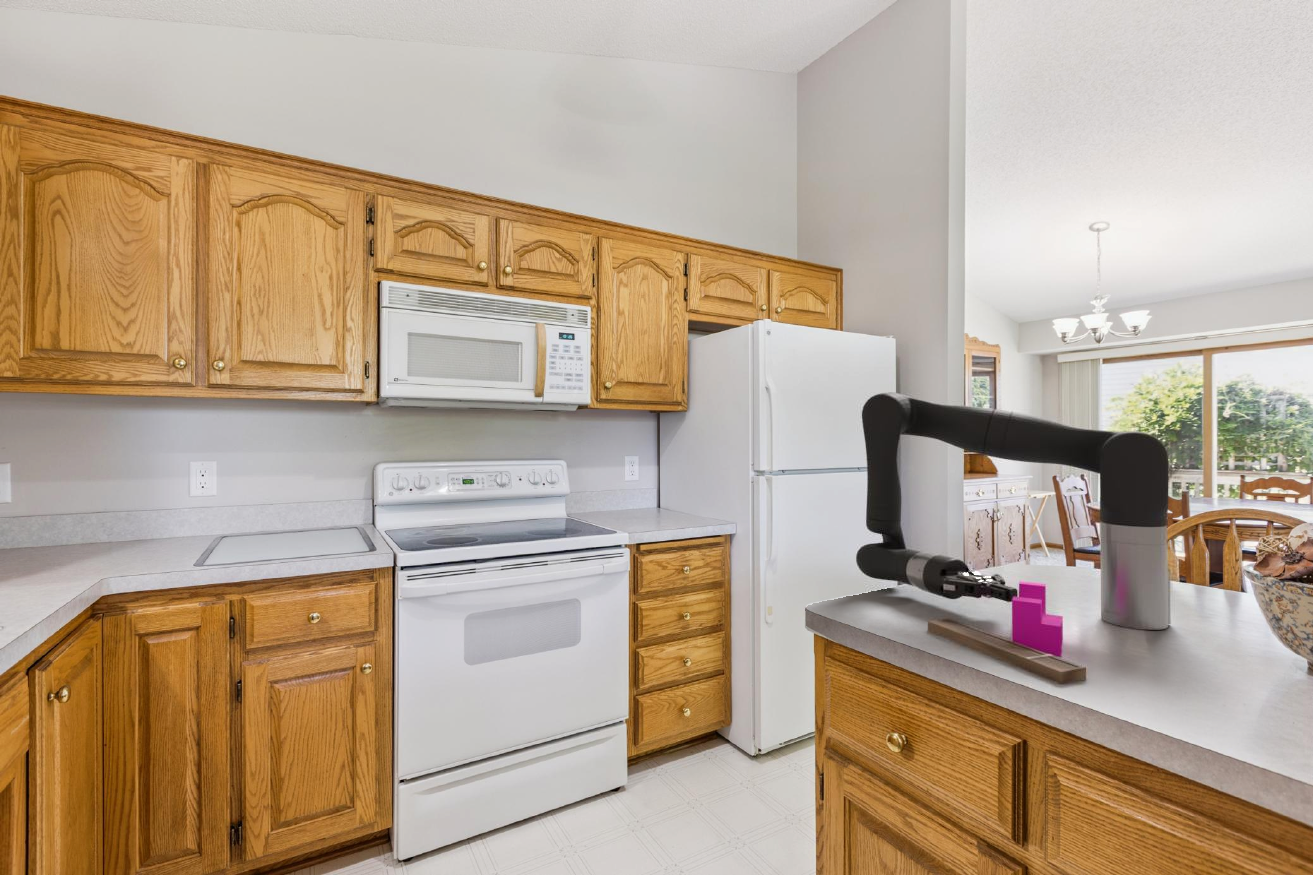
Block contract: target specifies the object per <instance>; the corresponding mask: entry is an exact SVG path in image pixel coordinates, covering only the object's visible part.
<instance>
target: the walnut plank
mask: <svg viewBox="0 0 1313 875" xmlns="http://www.w3.org/2000/svg"><path fill="white" fill-rule="evenodd" d="M927 631H928V632H930V633H933V634H935V635H938V636H940V637H941V638H942V637H943V638H944V639H947V640H950V641H953V642H955V643H957V644H960V645H963V646H965V647H968V648H970V649H973V650H975V651H977V652H979V653H982V654H985V655H987V656H990V657H991V658H995V659H998V660H1000V661H1002V662H1005V663H1008V664H1010V665H1013V666H1014V667H1018V668H1020V669H1022V670H1025V671H1027V672H1030V673H1032V674H1035V675H1038V676H1040V677H1042V678H1045V679H1047V680H1050V681H1052V682H1055V683H1057V684H1060V685H1063V684H1069V683H1075V682H1081V681H1087V667H1085V666H1083V665H1080V664H1078V663H1074V662H1071V661H1069V660H1066V659H1062V658H1061V657H1057V656H1054V655H1052V654H1047V653H1044V652H1041V651H1038V650H1035V649H1033V648H1030V647H1027V646H1024V645H1021V644H1019V643H1016V642H1013V641H1012V640H1010V639H1007V638H1005V637H1001V636H999V635H996V634H993V633H990V632H988V631H984V630H982V629H979V628H976V627H974V626H972V625H969V624H966V623H962V622H961V621H957V620H954V619H951V618H943V619H936V620H935V619H934V620H928V621H927Z"/></svg>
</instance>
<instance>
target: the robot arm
mask: <svg viewBox="0 0 1313 875" xmlns="http://www.w3.org/2000/svg"><path fill="white" fill-rule="evenodd" d="M861 419H862V420H861V421H862V422H861V423H862V429H863V436H864V442H865V443H864V444H865V445H864V446H865V453H866V454H865V455H866V469H867V471H866V472H867V473H866V475H867V478H866V480H867V486H866V487H867V488H866V489H867V490H866V511H865V512H866V513H865V516H866V517H865V526H866V528H867V530H868V531H870V532H871V533H874V534H878V535H881V538H882V542H875V543H868V544H867V543H866V544H865V545H864V544H863V545H862V546H861V547H860V548H859V549H858V550H857V552H856V556H855V560H856V561H855V562H856V565H857V567H858V569H859V570H860V572H862V574H864V575H865V576H867V577H869V578H871V579H877V580H882V581H883V580H884V581H893V582H899V583H903V584H906V585H908V586H912V587H916V588H918V589H919V590H921V591H924V592H927V593H929V594H933V595H936V596H939V597H942V598H946V599H949V600H957V599H960V598H962V597H969V598H975V599H981V598H982V597H984V598H987V599H997V600H1001V601H1003V602H1007V603H1012V599H1013V596H1015V597H1019V591H1018V589H1017V588H1015V587H1012V586H1008V585H1006V581H1005V579H1004V578H1003V576H1001V574H998V573H995V574H992V575H991V576H989V575H985V574H981V572H979V571H977V570H970V568H969V566H968V565H967V564H966V563H965V562H964V561H963V560H961V559H959V558H954V557H951V556H947V555H942V554H937V553H932V552H923V551H918V550H915V549H908V548H907V547H906V543H905V538H904V534H903V530H902V524H901V521H902V519H901V517H902V489H901V488H902V487H901V482H900V477H899V476H900V474H899V471H898V470H899V469H898V449H899V442H900V437H901V435H903V436H904V435H905V436H915V437H923V438H929V439H933V440H938V441H941V442H944V443H946V444H950V445H951V446H954V447H956V448H959V449H961V450H965V451H968V452H971V453H975V454H978V455H982V456H988V457H992V458H997V459H1002V460H1006V461H1007V460H1009V461H1015V462H1016V461H1017V462H1024V463H1035V464H1050V465H1052V464H1053V465H1061V466H1069V467H1073V468H1077V469H1080V470H1085V471H1088V472H1093V473H1096V474H1099V524H1100V525H1099V528H1100V530H1099V532H1100V533H1099V534H1100V538H1099V539H1100V540H1099V541H1100V542H1099V543H1100V548H1099V549H1100V618H1101V619H1102V620H1103V621H1105V622H1107V623H1110V624H1113V625H1117V626H1120V627H1125V628H1131V629H1138V630H1149V631H1150V630H1152V631H1153V630H1164V629H1165V630H1166V629H1167V628H1168V627H1169V625H1171V621H1172V620H1171V617H1172V616H1171V570H1170V568H1168V512H1169V480H1170V479H1169V476H1170V475H1169V474H1170V473H1169V466H1170V465H1169V454H1168V451H1167V448H1166V447H1165V444H1163V442H1161V441H1160V439H1158V438H1157V437H1155V436H1154V435H1151V434H1149V433H1147V432H1144V431H1137V430H1136V431H1135V430H1134V431H1133V430H1130V431H1119V430H1117V431H1116V430H1115V431H1114V430H1101V429H1090V428H1081V427H1075V426H1070V425H1066V424H1063V423H1060V422H1056V421H1053V420H1049V419H1047V418H1046V419H1045V418H1042V417H1037V416H1034V415H1030V414H1026V413H1021V412H1014V411H1010V410H1003V409H998V408H997V409H996V408H989V407H981V406H968V405H954V404H952V405H950V404H941V403H936V402H931V401H927V400H924V399H919V398H916V397H912V396H908V395H905V394H901V393H897V392H883V393H877V394H874V395H873V396H870V398H869V399H867V400H866V401H865V403H864V405H863V407H862V409H861Z"/></svg>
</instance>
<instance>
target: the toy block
mask: <svg viewBox="0 0 1313 875" xmlns="http://www.w3.org/2000/svg"><path fill="white" fill-rule="evenodd" d="M1046 587H1047V586H1046V583H1040V582H1031V581H1022V580H1020V581H1019V582H1018V597H1015V596H1013V599H1012V602H1011V633H1012V634H1011V636H1012V637H1011V639H1012V640H1011V641H1013V642H1016V643H1019V644H1021V645H1024V646H1027V647H1030V648H1033V649H1035V650H1038V651H1041V652H1044V653H1047V654H1052V655H1054V656H1055V657H1058V658H1062V652H1063V650H1062V649H1063V641H1064V628H1063V627H1064V626H1063V625H1064V621H1063V620H1064V619H1063V617H1064V616H1062V615H1055V614H1048V613H1047V612H1046V611H1047V610H1046V609H1047V608H1046V607H1047V605H1046V604H1047V601H1046V600H1047V599H1046V598H1047V596H1046V591H1047V589H1046Z"/></svg>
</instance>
